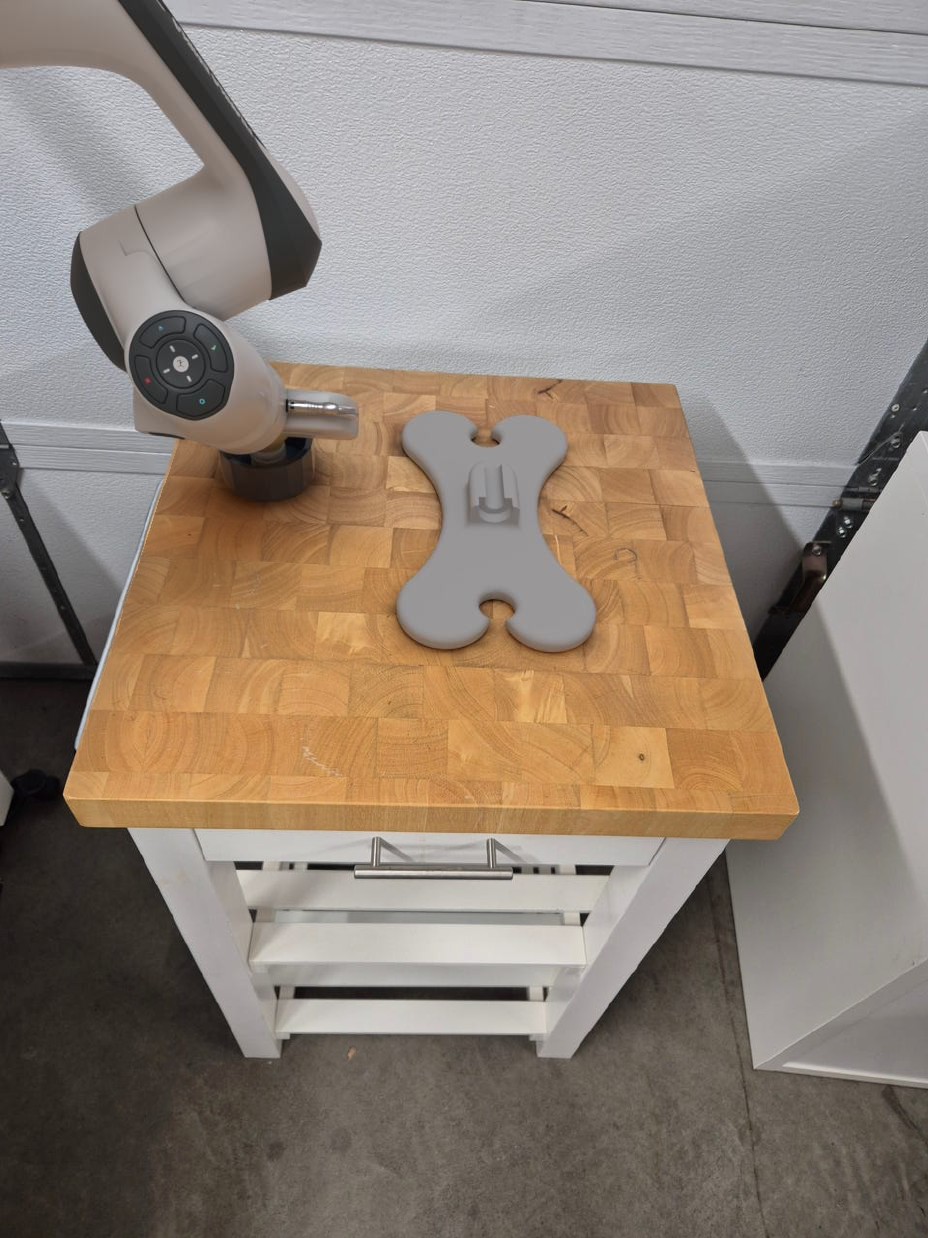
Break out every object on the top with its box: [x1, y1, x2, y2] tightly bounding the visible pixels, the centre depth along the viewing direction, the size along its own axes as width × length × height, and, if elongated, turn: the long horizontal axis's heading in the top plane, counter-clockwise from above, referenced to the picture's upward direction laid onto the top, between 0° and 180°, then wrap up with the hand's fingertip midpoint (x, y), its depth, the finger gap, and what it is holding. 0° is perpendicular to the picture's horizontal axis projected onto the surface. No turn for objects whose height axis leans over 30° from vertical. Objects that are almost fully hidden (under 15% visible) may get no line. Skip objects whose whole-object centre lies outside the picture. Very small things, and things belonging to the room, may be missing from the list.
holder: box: [395, 410, 597, 653], centre depth 84 cm, size 19×34×5 cm, turn 2°
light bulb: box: [250, 436, 287, 466], centre depth 84 cm, size 6×6×10 cm
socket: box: [216, 437, 316, 503], centre depth 87 cm, size 10×10×4 cm
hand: (265, 422), depth 84 cm, fingers closed on light bulb, 6 cm apart
